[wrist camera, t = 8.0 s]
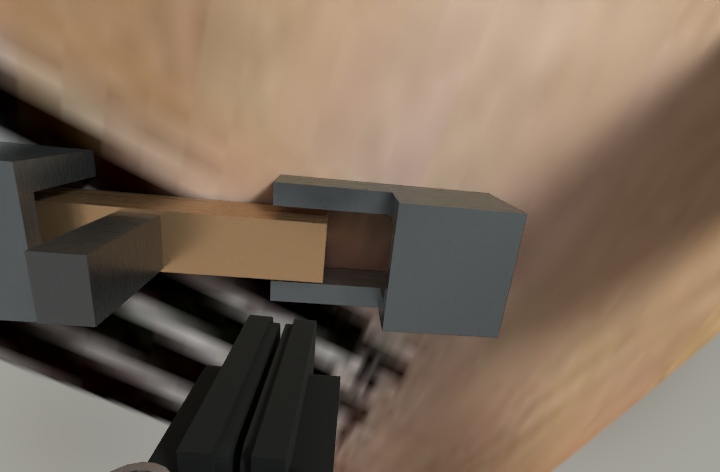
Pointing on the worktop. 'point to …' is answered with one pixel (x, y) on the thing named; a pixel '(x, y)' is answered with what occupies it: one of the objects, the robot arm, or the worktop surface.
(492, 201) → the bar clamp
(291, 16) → the worktop surface
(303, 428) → the robot arm
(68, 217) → the sliding bolt with handle
